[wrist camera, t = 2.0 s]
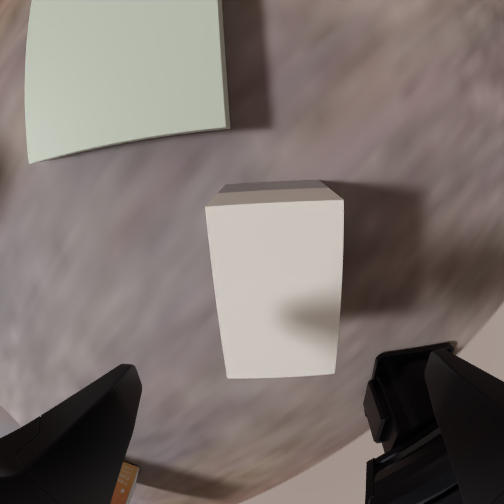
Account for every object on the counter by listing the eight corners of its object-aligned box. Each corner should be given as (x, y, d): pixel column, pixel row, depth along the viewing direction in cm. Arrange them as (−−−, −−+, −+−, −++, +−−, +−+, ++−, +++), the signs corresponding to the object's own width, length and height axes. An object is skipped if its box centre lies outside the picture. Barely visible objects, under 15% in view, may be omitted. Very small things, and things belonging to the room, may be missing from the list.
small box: (140, 466, 27) (115, 542, 17) (136, 483, 29) (115, 549, 19) (75, 437, 27) (39, 506, 17) (77, 457, 28) (48, 519, 19)
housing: (318, 179, 17) (343, 200, 11) (318, 310, 19) (334, 373, 14) (225, 184, 17) (205, 206, 11) (238, 314, 20) (227, 378, 14)
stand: (219, -50, 12) (214, -67, 10) (230, 129, 16) (225, 127, 14) (49, 1, 13) (33, -6, 11) (47, 160, 17) (28, 163, 15)
